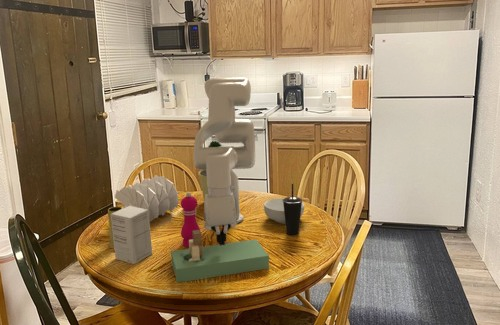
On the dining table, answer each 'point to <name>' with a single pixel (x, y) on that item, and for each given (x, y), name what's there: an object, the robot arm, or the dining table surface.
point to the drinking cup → (292, 214)
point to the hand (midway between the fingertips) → (221, 243)
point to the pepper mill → (189, 218)
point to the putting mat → (220, 260)
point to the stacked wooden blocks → (196, 245)
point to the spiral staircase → (150, 196)
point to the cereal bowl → (277, 210)
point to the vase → (110, 211)
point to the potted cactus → (204, 172)
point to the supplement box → (131, 234)
